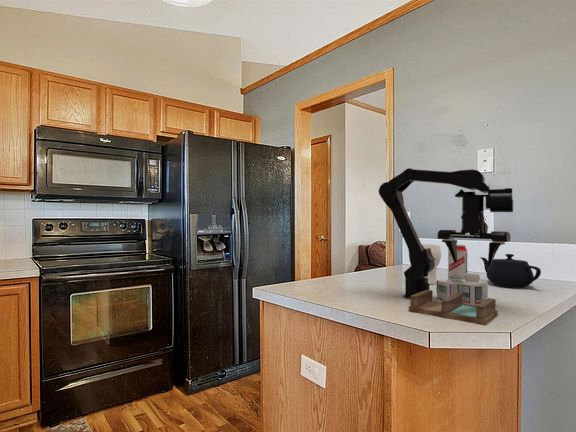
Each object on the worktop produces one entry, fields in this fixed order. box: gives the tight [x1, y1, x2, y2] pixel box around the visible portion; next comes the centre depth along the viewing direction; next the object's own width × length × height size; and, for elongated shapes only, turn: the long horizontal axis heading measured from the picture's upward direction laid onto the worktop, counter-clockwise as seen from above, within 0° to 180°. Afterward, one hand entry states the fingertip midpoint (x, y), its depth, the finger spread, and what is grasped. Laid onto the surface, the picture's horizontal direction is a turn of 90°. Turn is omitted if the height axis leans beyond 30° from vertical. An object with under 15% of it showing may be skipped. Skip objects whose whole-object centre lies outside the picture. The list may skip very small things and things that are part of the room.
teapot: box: [479, 253, 542, 289], centre depth 140 cm, size 25×16×12 cm, turn 21°
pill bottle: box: [462, 273, 483, 307], centre depth 107 cm, size 5×5×9 cm
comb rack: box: [408, 289, 498, 326], centre depth 96 cm, size 19×12×4 cm, turn 48°
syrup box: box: [435, 279, 489, 301], centre depth 114 cm, size 6×6×14 cm
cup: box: [421, 243, 442, 285], centre depth 144 cm, size 11×11×15 cm
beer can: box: [447, 244, 468, 280], centre depth 128 cm, size 6×6×16 cm
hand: (472, 264), depth 107 cm, fingers open, 9 cm apart
